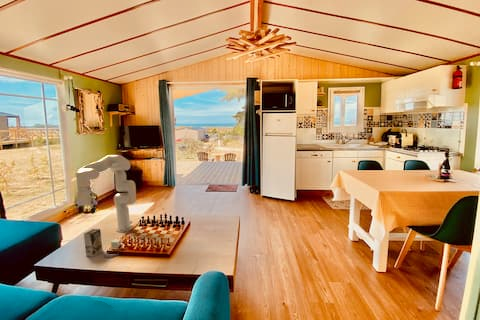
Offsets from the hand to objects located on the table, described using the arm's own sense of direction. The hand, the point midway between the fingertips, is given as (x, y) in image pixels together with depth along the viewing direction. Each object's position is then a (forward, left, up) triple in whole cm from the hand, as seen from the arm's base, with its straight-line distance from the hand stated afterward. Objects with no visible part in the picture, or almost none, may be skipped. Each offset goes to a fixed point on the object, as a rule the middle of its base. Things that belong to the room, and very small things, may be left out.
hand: (86, 213), depth 188 cm
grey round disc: (+1, +15, -30) cm, 33 cm away
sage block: (-9, +13, -30) cm, 34 cm away
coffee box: (-1, +1, -30) cm, 30 cm away
